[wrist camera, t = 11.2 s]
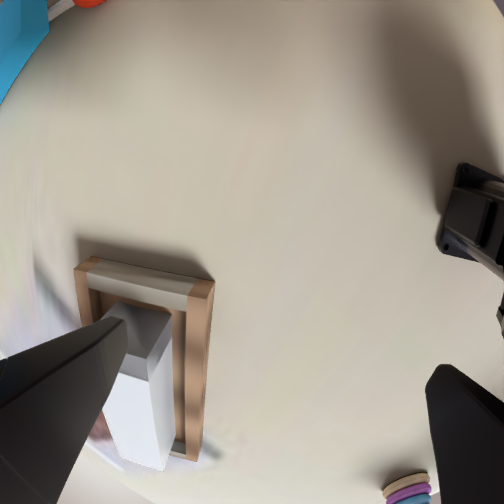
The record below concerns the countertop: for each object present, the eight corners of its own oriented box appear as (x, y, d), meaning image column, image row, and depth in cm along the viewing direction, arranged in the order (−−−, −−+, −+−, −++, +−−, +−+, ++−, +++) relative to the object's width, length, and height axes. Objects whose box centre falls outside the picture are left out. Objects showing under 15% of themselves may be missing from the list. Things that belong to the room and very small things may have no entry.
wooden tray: (91, 256, 20) (73, 268, 18) (215, 281, 20) (207, 299, 18) (120, 421, 28) (113, 436, 26) (201, 444, 28) (197, 462, 25)
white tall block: (175, 434, 26) (163, 471, 21) (136, 423, 26) (120, 457, 21) (172, 314, 20) (146, 359, 15) (117, 301, 20) (83, 338, 16)
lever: (22, 120, 21) (131, 7, 13) (-32, 134, 15) (52, -10, 7) (14, 71, 19) (117, -44, 11) (-36, 80, 13) (51, -62, 5)
